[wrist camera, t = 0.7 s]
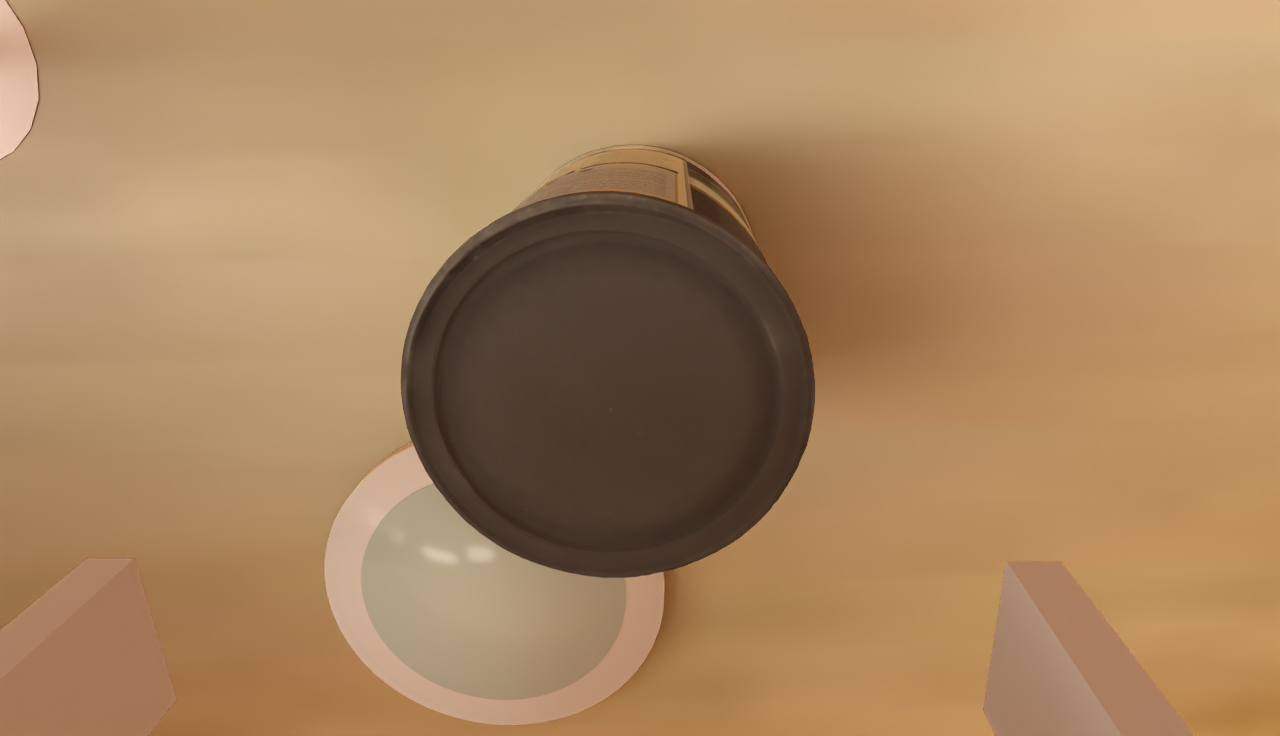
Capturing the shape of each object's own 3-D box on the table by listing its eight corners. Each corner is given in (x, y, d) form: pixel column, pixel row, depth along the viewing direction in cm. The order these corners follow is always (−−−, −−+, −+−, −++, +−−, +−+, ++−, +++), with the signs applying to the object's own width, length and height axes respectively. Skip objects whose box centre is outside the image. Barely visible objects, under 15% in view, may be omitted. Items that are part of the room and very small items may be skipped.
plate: (362, 706, 42) (352, 727, 40) (307, 429, 36) (293, 442, 35) (668, 707, 41) (667, 729, 40) (660, 424, 35) (660, 437, 34)
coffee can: (803, 208, 32) (897, 309, 18) (690, 421, 35) (701, 633, 22) (565, 94, 30) (484, 115, 17) (473, 326, 34) (346, 490, 21)
